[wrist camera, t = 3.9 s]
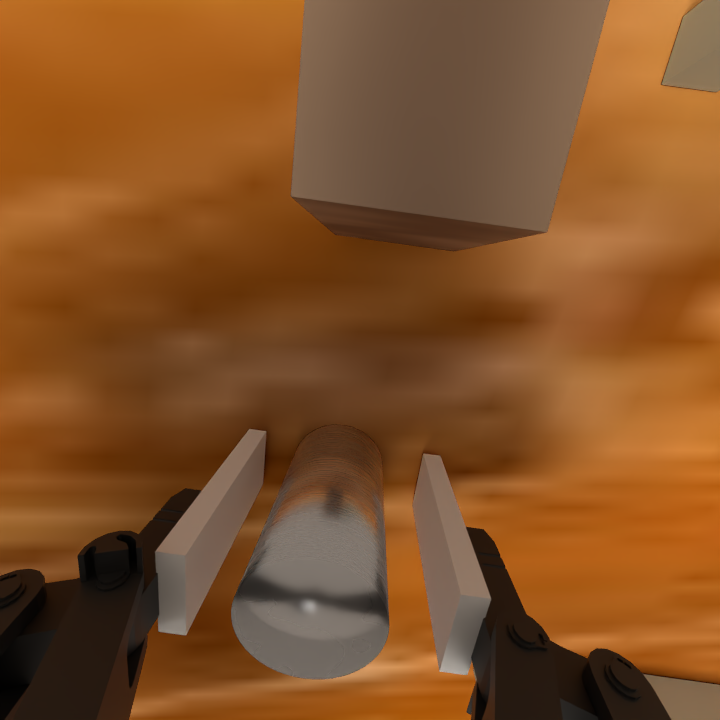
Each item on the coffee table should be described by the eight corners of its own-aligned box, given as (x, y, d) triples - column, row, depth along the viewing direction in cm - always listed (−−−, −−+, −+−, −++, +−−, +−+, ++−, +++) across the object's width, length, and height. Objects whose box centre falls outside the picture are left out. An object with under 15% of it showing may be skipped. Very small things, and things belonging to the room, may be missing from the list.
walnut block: (335, 234, 13) (290, 196, 6) (350, 95, 11) (316, -158, 5) (453, 251, 13) (547, 232, 6) (481, 113, 11) (640, -114, 5)
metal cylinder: (291, 495, 16) (228, 667, 9) (298, 418, 15) (233, 548, 8) (375, 507, 16) (376, 688, 9) (388, 431, 15) (401, 572, 8)
